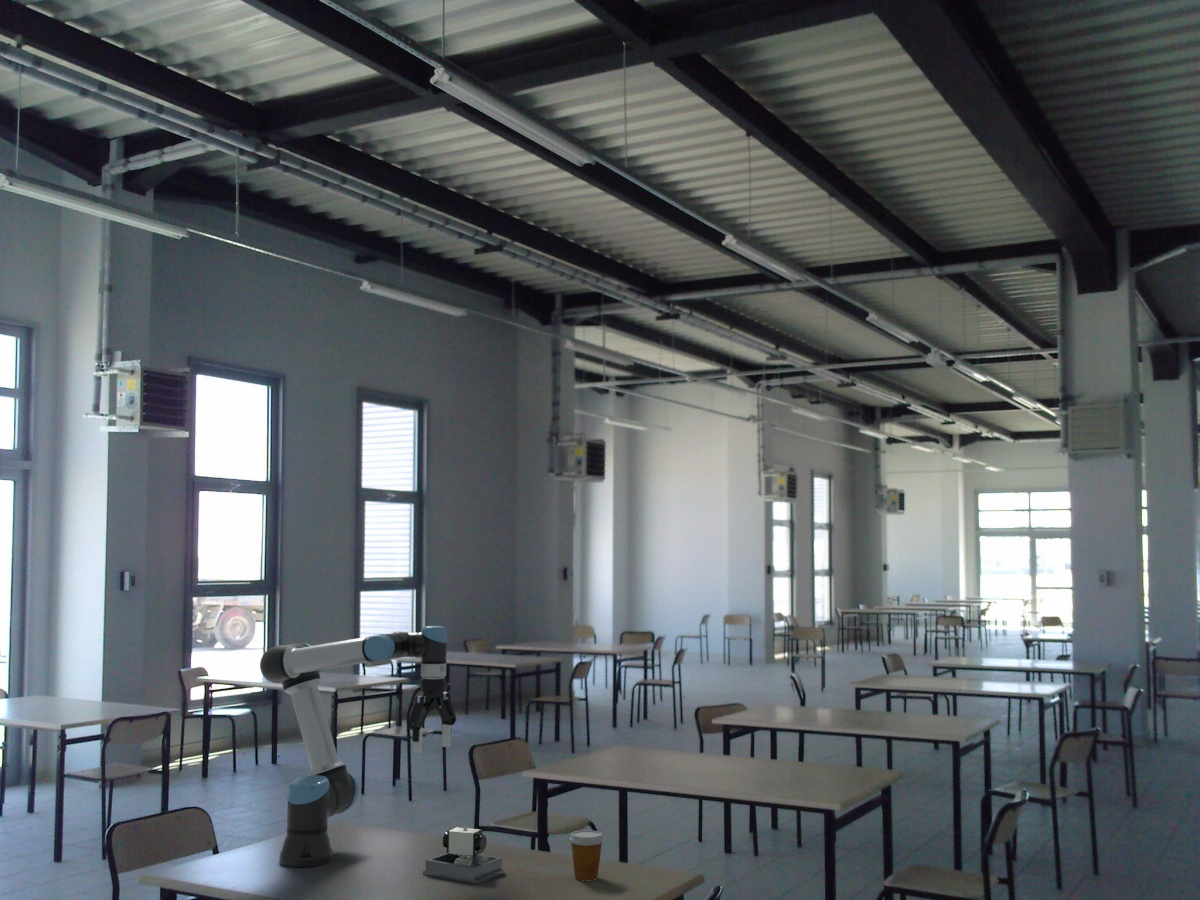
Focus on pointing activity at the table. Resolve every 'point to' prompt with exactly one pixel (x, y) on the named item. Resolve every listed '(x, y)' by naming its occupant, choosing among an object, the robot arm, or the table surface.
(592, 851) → the disposable coffee cup
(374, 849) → the table surface
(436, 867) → the rectangular open-top bin
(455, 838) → the pneumatic valve
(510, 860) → the table surface
